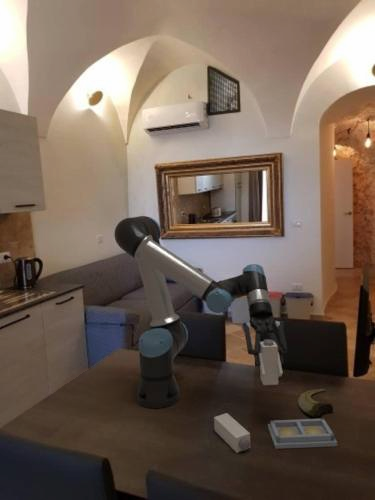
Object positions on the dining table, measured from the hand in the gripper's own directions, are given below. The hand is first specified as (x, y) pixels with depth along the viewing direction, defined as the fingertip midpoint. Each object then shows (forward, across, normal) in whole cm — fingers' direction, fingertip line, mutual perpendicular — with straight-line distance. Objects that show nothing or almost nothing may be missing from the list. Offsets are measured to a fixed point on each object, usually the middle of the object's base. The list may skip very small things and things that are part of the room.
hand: (271, 375), depth 115 cm
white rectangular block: (+15, +13, -8) cm, 22 cm away
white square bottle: (0, 0, -5) cm, 5 cm away
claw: (+4, -17, -21) cm, 27 cm away
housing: (+15, -7, -8) cm, 19 cm away
